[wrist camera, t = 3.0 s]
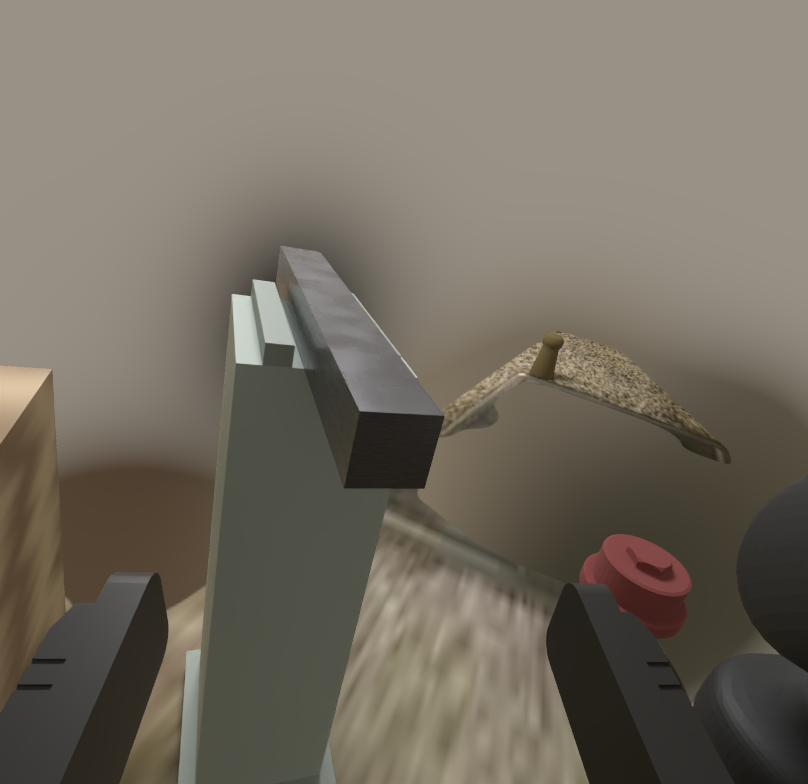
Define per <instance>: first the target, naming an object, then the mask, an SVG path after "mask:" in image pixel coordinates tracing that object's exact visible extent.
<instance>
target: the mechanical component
mask: <svg viewBox="0 0 808 784" xmlns="http://www.w3.org/2000/svg"><path fill="white" fill-rule="evenodd" d="M580 583H594V584H604V585H606V586H607V587H608V588H609V589H610V591H611V592H612V594H613V596H614V598H615V600H616V602H617V604H618V606H619V608H620V610H621V612H633V614H634V615H635V616H636V617H637V618H638V619H639V620H640V621H641V622H642V623H643V624H644V625H645V626H646V627H647V628H648V629H649V630H650V631H651V632H652V633H653V635H654V636H655V638H668V637H672V636H674V635H675V634H676V633H678V631H679V630H680V628H681V627H682V625H683V623H684V622H685V620H686V617H687V610H686V606H685V603H684V600H685V598H686V597H687V595H688V593H689V591H690V590H691V587H692V582H691V579H690V576H689V574H688V572H687V571H686V569H685V568H684V567H683V566H682V564H681V563H680V562H679V561H677V560H676V559H675V558H674V557H673V556H672V555H670V554H669V553H668V552H667V551H665V550H663V549H662V548H660V547H659V546H657V545H655V544H653V543H651V542H649V541H646V540H644V539H641V538H638V537H635V536H631V535H623V534H618V535H612V536H609V537H608V538H607V539H606V540H605V541H604V543H603V545H602V548H601V550H600V552H599V553H596V554H593V555H591V556H589V557H588V559H587V560H586V561H585V563H584V565H583V567H582V569H581V572H580Z"/></svg>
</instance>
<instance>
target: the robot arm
mask: <svg viewBox="0 0 808 784" xmlns="http://www.w3.org/2000/svg"><path fill="white" fill-rule="evenodd" d="M736 575H737V583H738V590H739V593H740V596H741V600H742V602H743V606H744V608H745V610H746V612H747V614H748V616H749V618H750V620H751V622H752V623H753V625H754V626H755V627H756V629H757V630H758V631H759V632H760V634H761V636H762V637H763V638H764V639H765V640H766V641H767V642H768V643H769V644H770V645H771V646H772V647H773V648H774V649H775V650H776V651H777V652H778V653H779V654H780V655H777V654H753V653H752V654H751V653H750V654H742V655H736V656H733V657H730V658H728V659H725V660H724V661H722V662H721V663H719V664H718V665H717V666H716V667H715V668H714V669H713V670H712V672H711V673H710V674H709V675H708V677H707V678H706V680H705V681H704V683H703V684H702V686H701V687H700V689H699V691H698V692H697V694H696V695H695V696H694V698H693V700H692V701H691V702H690V701H689V699H688V697H687V695H686V693H685V691H684V690H681V684H680V682H679V680H678V678H677V677H676V675H675V673H674V671H673V669H672V668H670V667H669V665H668V663H669V662H668V660H667V658H666V656H665V654H664V652H663V651H662V649H661V647H660V645H659V643H658V641H657V640H656V638H655V636H654V635H653V633H652V632H651V631H650V630H649V629H648V628H647V627H646V626H645V625H644V624H643V623H642V622H641V621H640V620H639V619H638V618H637V617H636V616H635V615H634V614H633V612H621V610H620V608H619V606H618V604H617V602H616V600H615V598H614V596H613V594H612V592H611V591H610V589H609V588H608V587H607V586H606V585H604V584H594V583H567V584H566V585H565V586H564V588H563V590H562V593H561V595H560V598H559V600H558V603H557V606H556V608H555V611H554V613H553V616H552V619H551V621H550V624H549V626H548V630H547V636H546V646H547V654H548V659H549V662H550V665H551V669H552V672H553V675H554V678H555V681H556V684H557V687H558V690H559V693H560V696H561V699H562V702H563V705H564V708H565V711H566V714H567V717H568V720H569V723H570V726H571V729H572V732H573V735H574V738H575V741H576V744H577V747H578V750H579V753H580V756H581V759H582V762H583V766H584V769H585V772H586V775H587V778H588V781H589V784H808V475H807V476H805V477H803V478H801V479H800V480H798V481H796V482H794V483H792V484H791V485H789V486H787V487H786V488H784V489H783V490H782V491H780V492H779V493H778V494H777V495H775V496H774V497H773V498H772V499H771V500H770V501H769V502H768V503H767V504H766V505H765V506H764V507H763V508H762V509H761V510H760V511H759V512H758V514H757V515H756V516H755V518H754V519H753V520H752V522H751V523H750V525H749V527H748V529H747V530H746V533H745V534H744V537H743V539H742V542H741V545H740V547H739V551H738V556H737V564H736ZM167 639H168V619H167V613H166V607H165V602H164V596H163V590H162V584H161V579H160V576H159V574H158V573H139V572H138V573H137V572H115V573H113V574H112V575H111V576H110V578H109V579H108V581H107V582H106V584H105V586H104V588H103V590H102V592H101V594H100V596H99V598H98V599H97V601H96V603H76V604H75V605H74V606H73V607H72V608H71V609H70V610H69V611H68V612H67V613H65V614H64V615H63V616H62V617H61V618H60V619H59V620H58V621H57V622H56V623H55V624H54V625H53V626H52V627H51V628H50V629H49V630H48V632H47V634H46V636H45V637H44V639H43V641H42V642H41V644H40V646H39V647H38V649H37V651H36V653H35V654H34V656H33V658H32V663H31V664H30V665H28V666H27V668H26V670H25V671H24V673H23V675H22V677H21V678H20V680H19V682H18V683H17V688H16V690H15V691H13V692H12V694H11V695H10V697H9V699H8V700H7V702H6V704H5V706H4V707H3V709H2V711H1V712H0V784H119V783H120V780H121V777H122V774H123V771H124V768H125V766H126V763H127V760H128V757H129V754H130V751H131V749H132V746H133V743H134V740H135V737H136V734H137V732H138V729H139V726H140V723H141V720H142V717H143V714H144V712H145V709H146V706H147V703H148V700H149V697H150V695H151V692H152V689H153V686H154V683H155V680H156V678H157V675H158V672H159V669H160V666H161V663H162V661H163V657H164V654H165V650H166V645H167Z"/></svg>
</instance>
